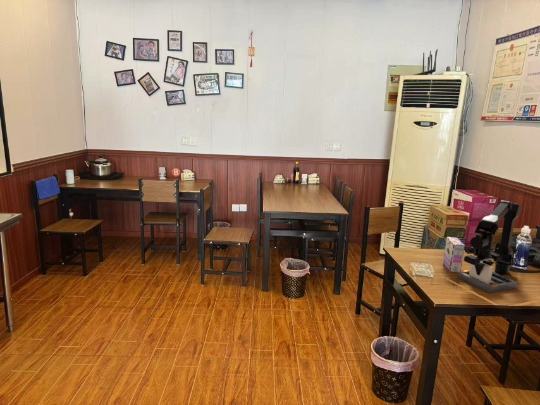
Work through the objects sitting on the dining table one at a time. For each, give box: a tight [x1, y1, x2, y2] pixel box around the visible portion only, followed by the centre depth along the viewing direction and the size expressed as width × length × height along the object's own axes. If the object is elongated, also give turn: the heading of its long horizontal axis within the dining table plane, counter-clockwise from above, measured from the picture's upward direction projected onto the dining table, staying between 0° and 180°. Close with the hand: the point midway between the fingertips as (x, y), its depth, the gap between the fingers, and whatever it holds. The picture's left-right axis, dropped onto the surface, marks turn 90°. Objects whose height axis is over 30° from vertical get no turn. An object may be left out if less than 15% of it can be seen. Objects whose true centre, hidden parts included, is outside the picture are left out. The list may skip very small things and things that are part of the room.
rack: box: [457, 269, 519, 294], centre depth 182 cm, size 19×18×5 cm
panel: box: [469, 263, 494, 285], centre depth 179 cm, size 2×10×10 cm, turn 20°
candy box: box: [442, 236, 466, 273], centre depth 199 cm, size 14×6×16 cm, turn 168°
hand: (480, 274), depth 179 cm, fingers closed on panel, 2 cm apart
